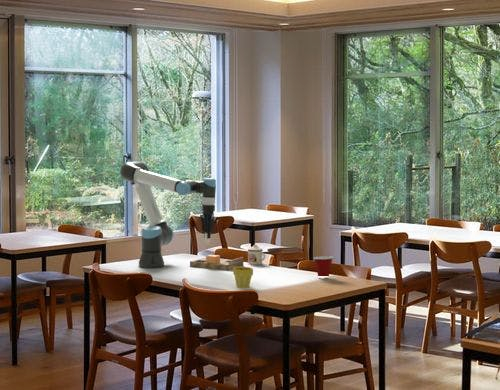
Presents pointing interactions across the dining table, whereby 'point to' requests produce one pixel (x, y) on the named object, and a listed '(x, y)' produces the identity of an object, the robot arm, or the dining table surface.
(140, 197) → the robot arm
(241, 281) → the plant pot
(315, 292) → the dining table surface
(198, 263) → the trap board
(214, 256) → the block
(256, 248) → the teacup with lid
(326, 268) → the plastic cup
